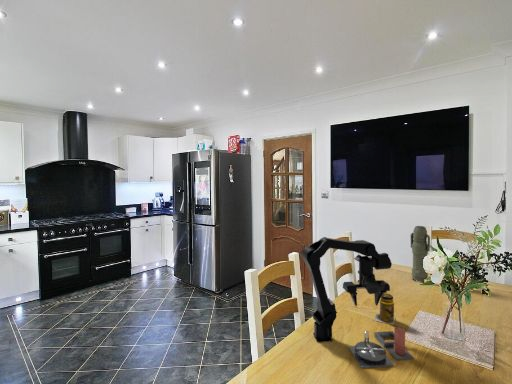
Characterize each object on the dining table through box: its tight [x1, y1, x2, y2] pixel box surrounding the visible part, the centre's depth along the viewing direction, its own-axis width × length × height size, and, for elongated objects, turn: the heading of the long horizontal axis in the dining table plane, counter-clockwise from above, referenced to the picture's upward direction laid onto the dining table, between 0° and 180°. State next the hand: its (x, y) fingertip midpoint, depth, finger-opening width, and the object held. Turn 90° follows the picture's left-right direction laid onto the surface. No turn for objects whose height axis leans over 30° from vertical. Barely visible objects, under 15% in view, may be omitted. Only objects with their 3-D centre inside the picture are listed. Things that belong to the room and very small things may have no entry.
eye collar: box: [373, 330, 394, 349], centre depth 116 cm, size 8×8×2 cm
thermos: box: [410, 225, 431, 283], centre depth 182 cm, size 9×12×35 cm
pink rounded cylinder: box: [393, 326, 407, 356], centre depth 108 cm, size 4×4×9 cm
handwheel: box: [354, 330, 387, 362], centre depth 106 cm, size 11×11×5 cm
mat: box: [385, 347, 415, 361], centre depth 108 cm, size 7×7×1 cm
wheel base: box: [347, 345, 395, 369], centre depth 107 cm, size 12×12×1 cm
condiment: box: [373, 293, 396, 326], centre depth 134 cm, size 7×8×12 cm
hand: (366, 305), depth 122 cm, fingers open, 9 cm apart
